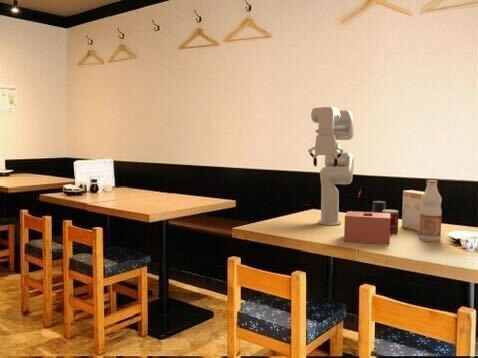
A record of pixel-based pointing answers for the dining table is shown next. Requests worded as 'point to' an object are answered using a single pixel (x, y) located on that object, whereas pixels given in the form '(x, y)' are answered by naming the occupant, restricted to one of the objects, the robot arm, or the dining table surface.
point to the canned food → (393, 220)
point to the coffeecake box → (411, 209)
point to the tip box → (367, 227)
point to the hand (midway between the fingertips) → (325, 166)
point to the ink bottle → (378, 206)
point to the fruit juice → (430, 213)
